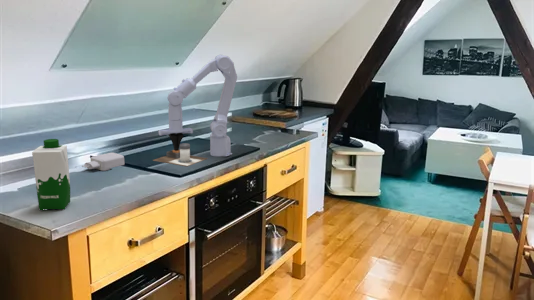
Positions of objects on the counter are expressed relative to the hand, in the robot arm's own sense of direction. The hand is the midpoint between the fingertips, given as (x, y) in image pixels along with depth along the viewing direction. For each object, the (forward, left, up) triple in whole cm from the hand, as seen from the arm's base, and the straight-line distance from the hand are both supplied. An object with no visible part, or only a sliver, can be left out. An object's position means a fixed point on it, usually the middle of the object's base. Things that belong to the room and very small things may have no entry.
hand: (176, 150), depth 191 cm
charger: (+28, -14, -4) cm, 32 cm away
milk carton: (+64, +6, -3) cm, 65 cm away
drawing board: (+3, +5, -3) cm, 7 cm away
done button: (0, 0, -2) cm, 2 cm away
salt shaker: (+5, +9, -2) cm, 10 cm away
